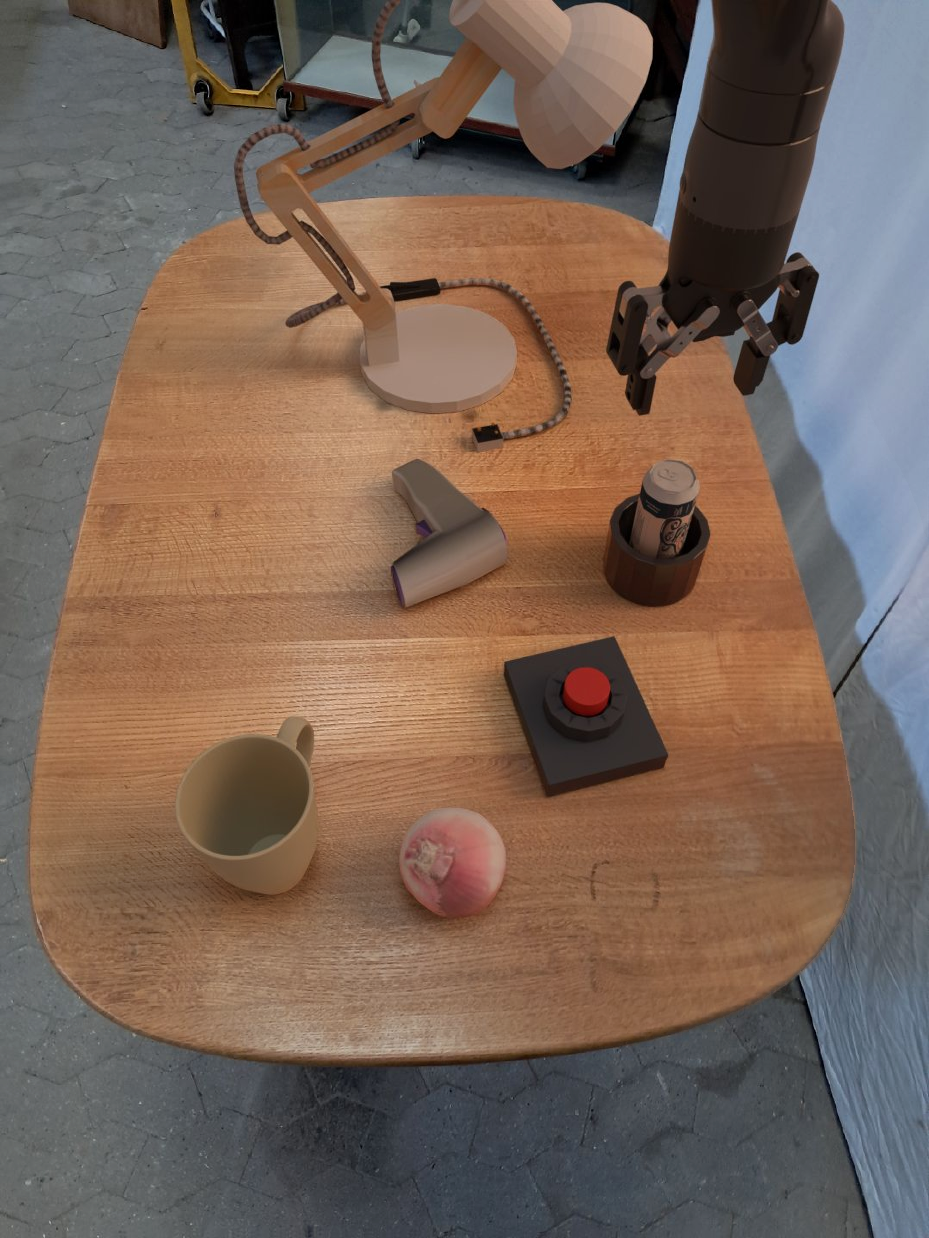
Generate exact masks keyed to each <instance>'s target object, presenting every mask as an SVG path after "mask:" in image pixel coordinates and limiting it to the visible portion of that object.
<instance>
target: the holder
mask: <svg viewBox="0 0 929 1238" xmlns="http://www.w3.org/2000/svg"><path fill="white" fill-rule="evenodd" d="M639 495H640V493H637V494H633V495H631V496H628V497H626V498H625V499H624V500H622V501H621V502H620V503H619V504H617V506H615V507H614V509H613V512H612V514H611V517H610V519H609V523H608V529H607V534H606V539H605V545H604V551H603V556H602V572H603V576H604V578H605V581H606V583H607V584H608V586H609V587H610V588H611V589H612V591H613V592H615V593H616V594H617V595H618V596H620V598H623V599H624V600H625V601H628V602H630V603H633V604H636V605H638V606H644V607H650V608H651V607H653V608H658V607H659V608H660V607H665V606H667V607H668V606H670V605H673V604H676V603H679V602H680V601H682V600H683V599H685V598H686V597H688V595H689V594H690V593H691V592H692V591H693V589H694V588H695V586H696V583H697V579H698V576H699V574H700V573H699V572H700V570H701V567H702V565H703V564H702V563H703V561H704V557H705V555H706V551H707V548H708V545H709V542H710V538H711V529H710V525H709V521H708V519H707V518H706V516H705V515H704V514H703V512H702V511H701V510H700V508H699V507H698V506H697V505H695V507H694V510H693V514H692V518H691V521H690V525H689V528H688V532H687V535H686V539H685V542H684V546H683V549H682V553H681V556H679V557H676V558H655V557H651V556H648V555H644V554H641V553H639V552H638V551H636V550H635V549H633V548H632V547H630V546H629V542H630V538H631V533H632V528H633V524H634V519H635V514H636V509H637V505H638V500H639Z"/></svg>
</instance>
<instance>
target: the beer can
mask: <svg viewBox="0 0 929 1238" xmlns="http://www.w3.org/2000/svg"><path fill="white" fill-rule="evenodd" d="M641 481H642V482H641V486H640V491H639V494H640V495H639V500H638V505H637V509H636V514H635V519H634V524H633V528H632V533H631V538H630V542H629V546H630V547H632V548H633V549H635V550H636V551H638V552H639V553H641V554H644V555H648V556H651V557H655V558H676V557H679V556H681V553H682V549H683V546H684V542H685V539H686V535H687V532H688V528H689V525H690V521H691V518H692V514H693V510H694V507H695V506H696V503H697V500H698V497H699V492H700V490H701V484H700V481H699V478H698V476H697V473H696V471H695V469H694V467H693V466H691V465H690V464H688V463H687V462H685V461H684V460H679V459H673V458H666V459H662V460H660V461H657V462H655V463H654V464H653V465H652V466H651V467H649V468H648V470H646V472H645V473H644V475H643V477H642V480H641Z"/></svg>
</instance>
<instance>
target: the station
mask: <svg viewBox="0 0 929 1238" xmlns="http://www.w3.org/2000/svg"><path fill="white" fill-rule="evenodd" d="M582 667H590V668H594V669H597V670H599V671H600V672H602V673H603V674H604V675H605V676H606V677H607V679H608V681H609V683H610V693H609V697H608V701H607V705H606V707H605V708H604V709H603V710H602V711H601V712H600V713H598V714H596V715H593V716H581V715H578V714H575V713H574V712H572V711H571V710H570V709H569V708H568V707H567V706H566V704H565V702H564V699H563V692H564V685H565V680H566V678H567V676H568V675H569V674H570V673H571V672H572V671H574V670H575V669H578V668H582ZM503 677H504V680H505V683H506V686H507V689H508V693H509V694H510V698H511V701H512V704H513V706H514V708H515V711H516V714H517V718H518V720H519V723H520V726H521V729H522V731H523V735H524V737H525V740H526V742H527V747H528V749H529V751H530V754H531V757H532V760H533V762H534V765H535V768H536V771H537V774H538V777H539V780H540V782H541V785H542V788H543V790H544V794H545V796H546V798H550V797H554V796H558V795H561V794H566V793H569V792H574V791H578V790H582V789H585V788H589V787H593V786H597V785H601V784H605V783H608V782H613V781H616V780H620V779H624V778H628V777H632V776H635V775H639V774H644V773H648V772H651V771H655V770H660V769H662V768H665V765H666V763H667V760H668V758H669V752H668V750H667V749H666V746H665V744H664V742H663V739H662V737H661V735H660V733H659V731H658V728H657V726H656V725H655V721H654V720H653V718H652V715H651V713H650V711H649V709H648V707H647V704H646V702H645V699H644V698H643V696H642V693H641V691H640V689H639V686H638V684H637V682H636V680H635V678H634V676H633V674H632V671H631V669H630V667H629V665H628V662H627V661H626V658H625V656H624V654H623V651H622V650H621V647H620V645H619V643H618V641H617V638H616V636H609V637H604V638H601V639H596V640H592V641H587V642H583V643H580V644H573V645H570V646H565V647H561V648H556V649H553V650H548V651H544V652H539V653H536V654H531V655H526V656H522V657H518V658H514V659H509V660H505V661H504V664H503Z"/></svg>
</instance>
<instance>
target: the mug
mask: <svg viewBox="0 0 929 1238" xmlns="http://www.w3.org/2000/svg"><path fill="white" fill-rule="evenodd" d="M314 748H315V731H314V728H313V725H312V724H311V722H310V721H309V720H307V719H306V718H303V717H299V716H296V715H295V716H294V715H291V716H288V717H287V718H285V720H284V721H283V722H282V724H281V725H280V727H279V730H278V732H277V734H276V736H273V735H268V734H263V733H261V734H260V733H246V734H240V735H235V736H232V737H228V738H226V739H223V740H221V741H218V742H216V743H215V744H213V745H211V746H209V747H208V748H206V749H205V750H204V751H202V752H201V753H200V754H199V755H198V756H197V757H196V758H195V759H194V760H193V761H192V762H191V763H190V764H189V766H188V767H187V768H186V770H185V772H184V773H183V774H182V776H181V779H180V781H179V783H178V785H177V788H176V792H175V797H174V816H175V820H176V823H177V826H178V829H179V830H180V833H181V835H182V836H183V838H184V839H185V840H186V841H187V843H188V844H189V845H190V846H191V847H192V848H193V849H194V851H195V852H196V853H197V854H198V855H199V856H200V858H201V859H202V860H203V861H204V863H205V864H206V865H207V866H208V867H209V868H210V869H211V870H212V871H213V872H214V873H215V874H216V875H217V876H219V878H221V879H223V880H224V881H225V882H227V883H229V884H230V885H232V886H234V887H237V888H239V889H242V890H245V891H250V892H253V893H259V894H263V895H268V896H273V895H280V894H284V893H287V892H289V891H290V890H291V889H293V888H294V887H296V886H297V885H298V884H299V883H300V882H301V881H302V879H303V878H304V876H305V874H306V872H307V869H308V867H309V865H310V864H311V861H312V859H313V857H314V855H315V852H316V848H317V845H318V841H319V833H320V832H319V831H320V818H319V810H318V803H317V797H316V791H315V783H314V778H313V774H312V771H311V764H312V760H313V754H314Z"/></svg>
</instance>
